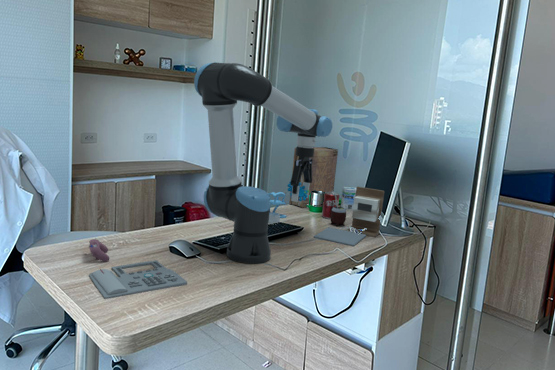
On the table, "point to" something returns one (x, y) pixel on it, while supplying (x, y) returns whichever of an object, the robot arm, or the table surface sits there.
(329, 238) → the mat
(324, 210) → the soda can
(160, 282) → the office telephone
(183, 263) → the table surface
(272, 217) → the steel block
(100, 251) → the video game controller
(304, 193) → the gear
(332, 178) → the book
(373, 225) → the mounted unit
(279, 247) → the table surface
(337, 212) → the mate gourd
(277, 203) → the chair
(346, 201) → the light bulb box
